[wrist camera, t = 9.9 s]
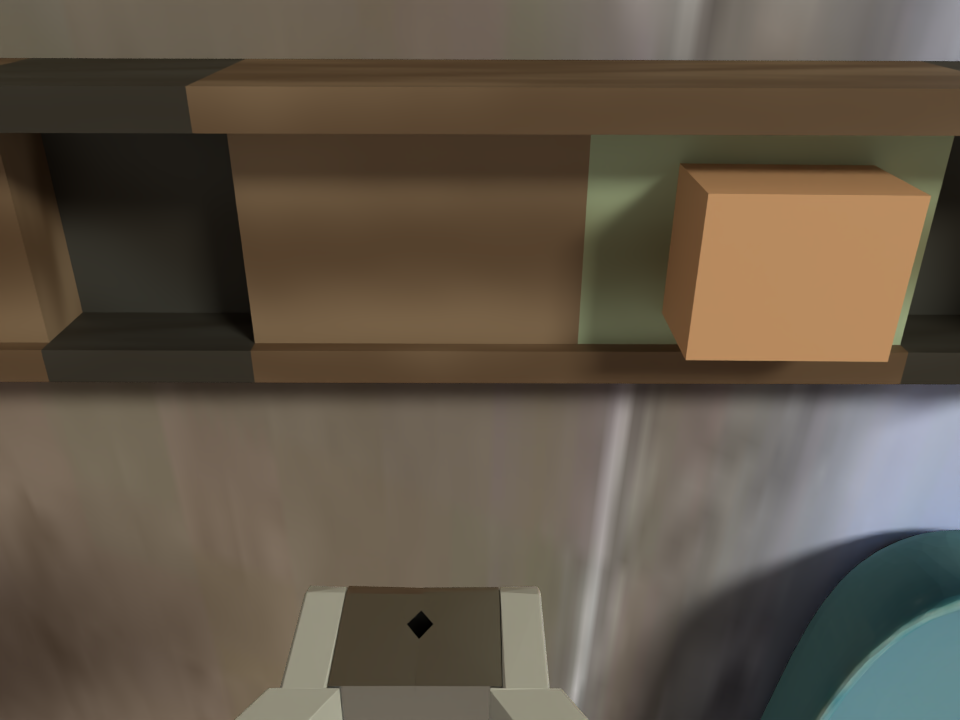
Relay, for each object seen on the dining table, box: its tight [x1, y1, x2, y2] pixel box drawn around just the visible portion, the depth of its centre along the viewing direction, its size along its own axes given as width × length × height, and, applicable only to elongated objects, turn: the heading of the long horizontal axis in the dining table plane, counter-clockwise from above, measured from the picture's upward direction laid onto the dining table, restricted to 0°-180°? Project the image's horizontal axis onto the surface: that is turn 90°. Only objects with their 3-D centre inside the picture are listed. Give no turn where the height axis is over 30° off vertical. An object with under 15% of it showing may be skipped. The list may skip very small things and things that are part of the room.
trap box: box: [0, 58, 960, 384], centre depth 26 cm, size 10×40×6 cm, turn 90°
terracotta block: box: [662, 163, 931, 362], centre depth 25 cm, size 5×6×4 cm
